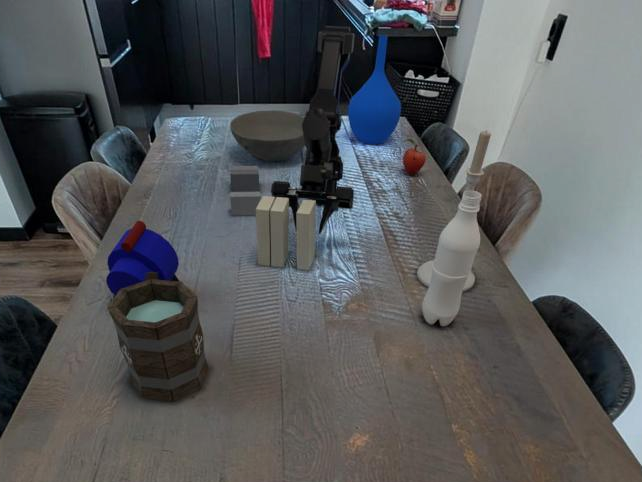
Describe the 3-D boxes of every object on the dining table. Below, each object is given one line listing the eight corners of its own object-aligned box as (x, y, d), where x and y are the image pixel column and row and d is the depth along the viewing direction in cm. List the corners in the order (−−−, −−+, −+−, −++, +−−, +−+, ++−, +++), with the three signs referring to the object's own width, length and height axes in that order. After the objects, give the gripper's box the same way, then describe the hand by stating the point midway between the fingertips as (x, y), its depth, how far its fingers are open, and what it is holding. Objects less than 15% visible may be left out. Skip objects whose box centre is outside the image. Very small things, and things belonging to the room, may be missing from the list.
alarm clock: (186, 287, 102) (174, 219, 92) (162, 319, 94) (146, 249, 83) (133, 279, 104) (116, 211, 93) (106, 310, 96) (83, 240, 85)
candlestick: (406, 268, 110) (436, 123, 88) (451, 258, 114) (491, 116, 92) (438, 297, 102) (480, 145, 80) (486, 286, 106) (538, 137, 84)
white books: (264, 250, 114) (262, 195, 105) (288, 252, 114) (288, 198, 104) (258, 264, 110) (255, 209, 100) (283, 267, 109) (283, 211, 100)
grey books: (258, 183, 142) (257, 165, 138) (261, 215, 127) (260, 196, 124) (231, 183, 141) (230, 166, 138) (231, 215, 127) (230, 196, 123)
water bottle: (415, 309, 99) (445, 185, 81) (448, 308, 99) (485, 185, 81) (424, 330, 94) (458, 203, 76) (459, 329, 95) (501, 203, 76)
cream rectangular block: (303, 254, 113) (303, 199, 104) (314, 255, 113) (315, 200, 104) (296, 269, 109) (296, 212, 99) (308, 270, 108) (309, 214, 99)
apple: (416, 168, 153) (422, 134, 146) (426, 176, 149) (433, 141, 142) (394, 170, 152) (400, 136, 144) (404, 178, 147) (410, 143, 140)
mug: (214, 394, 80) (203, 321, 69) (131, 408, 78) (106, 334, 67) (199, 326, 93) (188, 256, 82) (128, 336, 90) (107, 264, 80)
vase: (368, 128, 180) (380, 28, 159) (406, 141, 171) (424, 37, 150) (335, 138, 172) (342, 34, 150) (373, 152, 163) (386, 43, 141)
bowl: (325, 153, 161) (327, 120, 153) (282, 178, 145) (282, 142, 138) (262, 137, 170) (261, 105, 163) (215, 159, 155) (212, 125, 147)
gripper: (271, 142, 102) (262, 215, 102) (358, 149, 100) (348, 223, 101) (278, 167, 113) (270, 233, 113) (356, 173, 111) (348, 240, 112)
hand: (308, 232), depth 110 cm, fingers open, 5 cm apart
